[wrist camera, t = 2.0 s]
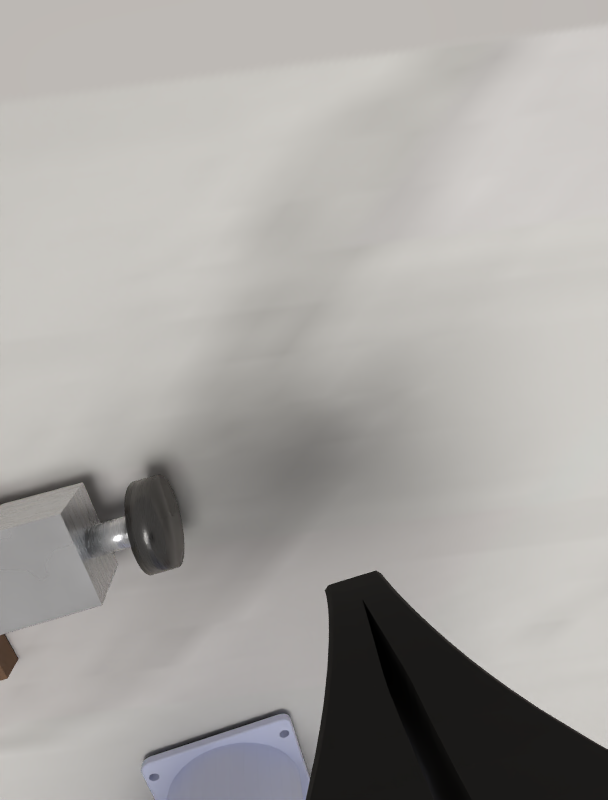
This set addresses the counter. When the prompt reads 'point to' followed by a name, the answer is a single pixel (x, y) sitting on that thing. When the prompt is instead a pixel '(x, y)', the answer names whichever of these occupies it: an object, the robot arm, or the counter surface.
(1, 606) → the door stop
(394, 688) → the robot arm
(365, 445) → the counter surface
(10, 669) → the housing
